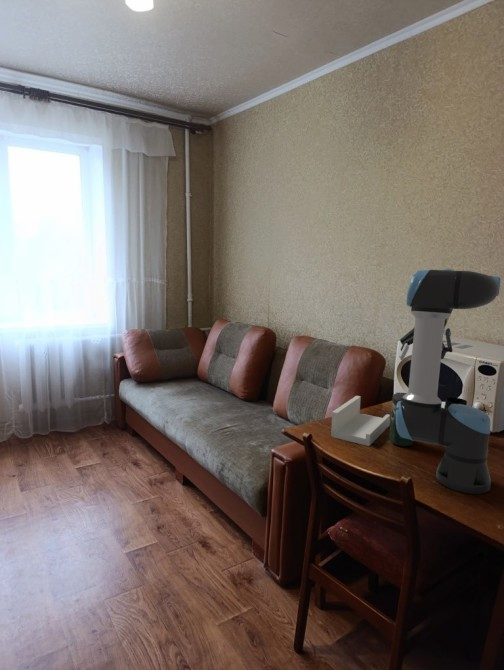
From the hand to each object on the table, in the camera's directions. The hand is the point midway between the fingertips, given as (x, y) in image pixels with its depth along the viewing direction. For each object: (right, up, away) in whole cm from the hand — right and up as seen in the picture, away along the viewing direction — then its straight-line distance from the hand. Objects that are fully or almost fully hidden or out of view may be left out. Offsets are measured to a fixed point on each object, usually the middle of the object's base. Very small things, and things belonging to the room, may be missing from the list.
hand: (417, 361), depth 165 cm
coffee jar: (-7, -30, -2) cm, 31 cm away
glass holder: (+17, -30, +1) cm, 35 cm away
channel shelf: (-19, -28, +8) cm, 35 cm away
